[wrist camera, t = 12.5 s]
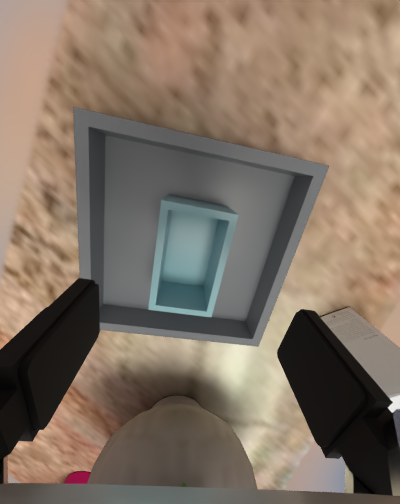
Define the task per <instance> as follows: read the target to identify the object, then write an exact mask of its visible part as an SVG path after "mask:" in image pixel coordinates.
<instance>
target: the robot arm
mask: <svg viewBox="0 0 400 504" xmlns="http://www.w3.org/2000/svg"><path fill="white" fill-rule="evenodd" d="M99 332H100V313H99V285H98V284H95V281H94V280H91V279H83V278H79V279H77V280H76V281H75V282H74V283H73V284H72V285H71V286H70V287H69V288H68V289H67V290H66V291H65V292H64V293H63V294H62V295H60V296H59V297H58V298H57V299H56V300H55V301H54V302H53V303H52V304H51V305H50V306H49V307H47V308H45V309H44V310H43V311H41V312H40V313H39V314H38V315H37V316H36V317H35V318H34V319H33V320H32V321H31V322H30V323H29V324H27V325H26V326H25V327H24V328H23V329H22V330H21V331H20V332H19V333H18V334H17V335H16V336H15V337H14V338H12V339H11V340H10V341H9V342H8V343H7V344H6V345H5V346H4V347H3V348H2V349H1V350H0V504H400V409H396V410H395V411H394V412H393V413H392V412H391V411H390V410H389V409H388V407H389V406H390V405H391V404H392V403H393V402H392V401H391V400H390V398H389V397H388V396H387V395H386V394H385V392H384V391H383V390H382V389H381V388H380V387H379V385H378V384H377V383H376V382H375V381H374V380H373V378H372V377H371V376H370V375H369V374H368V373H367V371H366V370H365V369H364V368H363V367H362V366H361V364H360V363H359V362H358V361H357V360H356V359H355V357H354V356H353V355H352V354H351V353H350V352H349V350H348V349H347V348H346V347H345V346H344V345H343V343H342V342H341V341H340V340H339V339H338V338H337V336H336V335H335V334H334V333H333V332H332V331H331V329H330V328H329V327H328V326H327V325H326V324H325V322H324V321H323V320H322V319H321V318H320V317H319V315H318V314H317V313H316V312H315V311H311V310H304V309H301V310H300V311H299V312H297V313H296V314H295V316H294V318H293V320H292V322H291V324H290V326H289V328H288V330H287V332H286V334H285V336H284V338H283V340H282V342H281V345H280V347H279V349H278V352H277V355H278V359H279V361H280V363H281V366H282V368H283V370H284V372H285V375H286V377H287V379H288V381H289V384H290V386H291V388H292V390H293V392H294V395H295V397H296V399H297V401H298V404H299V406H300V408H301V410H302V413H303V415H304V417H305V419H306V421H307V424H308V426H309V428H310V430H311V433H312V435H313V437H314V439H315V441H316V443H317V444H318V445H319V446H320V447H321V449H322V451H323V453H324V455H325V457H326V458H337V459H338V458H340V457H341V456H342V457H343V459H344V461H345V463H346V466H345V470H346V471H345V493H332V492H309V491H285V490H258V489H230V488H202V487H172V486H139V485H105V484H42V483H8V455H9V454H10V453H11V452H12V450H13V449H14V447H15V446H16V444H17V442H18V441H33V440H34V438H35V436H36V435H37V433H38V431H39V430H43V429H44V428H45V427H46V426H47V425H48V423H49V422H50V420H51V418H52V416H53V415H54V413H55V411H56V409H57V408H58V406H59V404H60V402H61V401H62V399H63V397H64V395H65V394H66V392H67V390H68V388H69V387H70V385H71V383H72V381H73V380H74V378H75V376H76V374H77V373H78V371H79V369H80V367H81V366H82V364H83V362H84V360H85V359H86V357H87V355H88V353H89V352H90V350H91V348H92V346H93V345H94V343H95V341H96V339H97V338H98V335H99Z"/></svg>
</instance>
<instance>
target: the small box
mask: <svg viewBox="0 0 400 504" xmlns="http://www.w3.org/2000/svg"><path fill="white" fill-rule="evenodd" d="M320 318H321V319H322V320H323V321H324V322H325V324H326V325H327V326H328V327H329V328H330V329H331V331H332V332H333V333H334V334H335V335H336V336H337V338H338V339H339V340H340V341H341V342H342V343H343V345H344V346H345V347H346V348H347V349H348V350H349V352H350V353H351V354H352V355H353V356H354V357H355V359H356V360H357V361H358V362H359V363H360V364H361V366H362V367H363V368H364V369H365V370H366V371H367V373H368V374H369V375H370V376H371V377H372V378H373V380H374V381H375V382H376V383H377V384H378V385H379V387H380V388H381V389H382V390H383V391H384V392H385V394H386V395H387V396H388V397H389V398H390V400H391V401H392V402H393V403H392V404H391V405H390V406H389V407H388V409H389V410H390V411H391V412H392V413H393V412H394V411H395V410H396V409H400V348H399V347H398V346H397V345H396V344H394V343H393V342H392V341H391V340H390V339H388V338H387V337H386V336H385V335H383V334H382V333H381V332H380V331H379V330H377V329H376V328H375V327H374V326H372V325H371V324H370V323H369V322H367V321H366V320H365V319H364V318H362V317H361V316H360V315H359V314H357V313H356V312H355V311H354V310H353V309H351V308H350V307H347V308H345V309H342V310H339V311H336V312H333V313H331V314H328V315H325V316H322V317H320Z"/></svg>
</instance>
